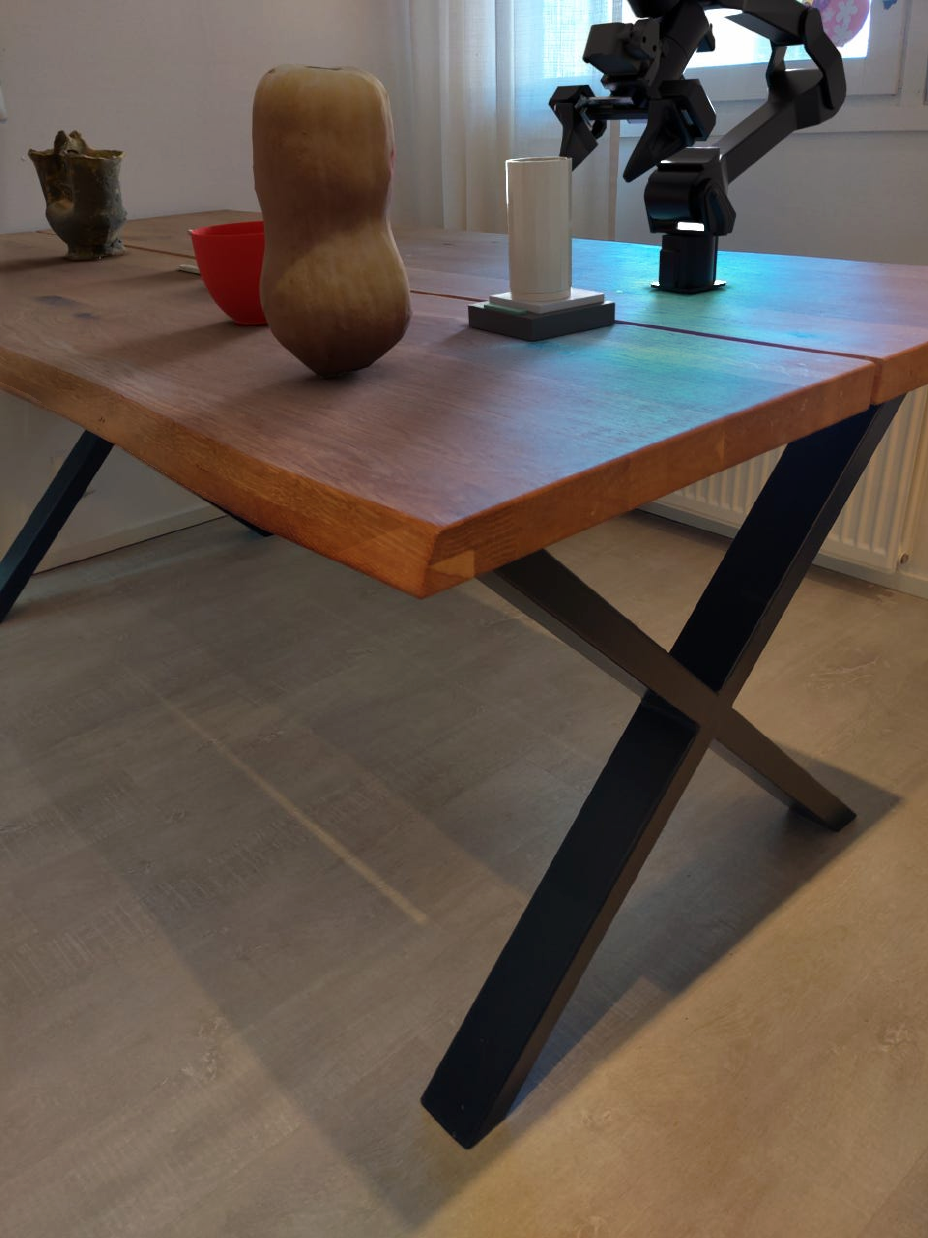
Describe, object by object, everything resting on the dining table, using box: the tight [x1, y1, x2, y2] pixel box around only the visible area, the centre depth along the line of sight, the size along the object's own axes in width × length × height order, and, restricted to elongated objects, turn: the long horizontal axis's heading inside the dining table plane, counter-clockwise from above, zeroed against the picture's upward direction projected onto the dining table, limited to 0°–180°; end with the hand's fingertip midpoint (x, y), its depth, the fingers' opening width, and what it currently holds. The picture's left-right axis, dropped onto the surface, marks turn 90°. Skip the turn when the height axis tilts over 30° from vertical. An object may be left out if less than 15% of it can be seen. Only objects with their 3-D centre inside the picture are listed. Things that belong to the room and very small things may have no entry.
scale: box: [467, 287, 616, 342], centre depth 106 cm, size 11×11×3 cm
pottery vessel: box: [27, 129, 128, 261], centre depth 170 cm, size 25×11×20 cm, turn 40°
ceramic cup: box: [190, 220, 268, 326], centre depth 116 cm, size 13×17×10 cm
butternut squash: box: [251, 63, 413, 379], centre depth 87 cm, size 14×13×25 cm
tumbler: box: [505, 156, 573, 302], centre depth 102 cm, size 6×6×13 cm
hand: (591, 178), depth 104 cm, fingers open, 9 cm apart
